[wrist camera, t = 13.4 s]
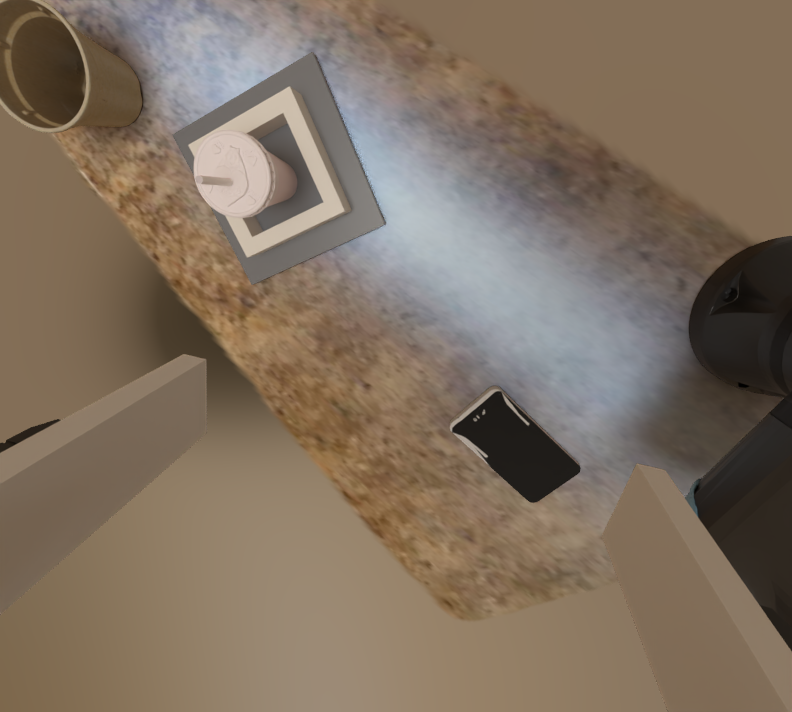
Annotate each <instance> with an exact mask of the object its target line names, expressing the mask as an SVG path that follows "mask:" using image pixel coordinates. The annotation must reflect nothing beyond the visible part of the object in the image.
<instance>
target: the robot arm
mask: <svg viewBox="0 0 792 712" xmlns="http://www.w3.org/2000/svg"><path fill="white" fill-rule="evenodd" d="M689 333H690V341H691V345H692V348H693V350H694V353H695V355H696V356H697V358H698V360H699V361H700V362H701V364H702V365H703V366H704V367H705V368H706V369H707V370H708V371H710V372H711V373H712V374H714V375H716V376H717V377H719V378H720V379H722V380H723V381H725V382H727V383H728V384H730V385H732V386H735V387H737V388H740V389H742V390H746V391H750V392H754V393H760V394H766V395H771V396H777V397H783V398H784V399H783V400H782V401H781V402H780V403H779V404H778V405H777V406H776V407H775V408H774V409H773V410H772V411H771V412H770V413H769V414H768V415H767V416H766V417H765V418H763V419H762V420H761V421H760V422H759V423H758V424H757V425H756V426H755V427H754V428H753V429H752V430H751V431H750V432H749V433H748V434H747V435H746V436H745V437H744V438H743V439H742V440H741V441H740V442H739V443H738V444H737V445H736V446H735V447H734V448H733V449H732V450H731V451H730V452H729V453H727V454H726V455H725V456H724V457H723V458H722V459H721V460H720V461H719V462H718V463H717V464H716V465H715V466H714V467H713V468H712V469H711V470H710V471H709V472H708V473H707V474H706V475H705V476H704V477H703V478H701V479H698V480H696V481H695V482H694V483H693V485H692V487H691V489H690V492H689V494H688V495H687V496H686V497H685V498H684V497H683V495H682V494H681V492H680V491H679V489H678V488H677V487H676V485H675V484H674V482H673V481H672V479H671V478H670V477H669V475H668V474H667V472H666V471H665V470H662V469H658V468H654V467H650V466H646V465H642V464H636V466H635V468H634V470H633V472H632V475H631V477H630V479H629V481H628V483H627V485H626V487H625V489H624V491H623V493H622V495H621V497H620V499H619V501H618V503H617V506H616V508H615V510H614V512H613V514H612V516H611V518H610V520H609V522H608V524H607V526H606V528H605V530H604V532H603V535H602V538H603V541H604V543H605V546H606V549H607V551H608V554H609V557H610V559H611V562H612V565H613V567H614V570H615V573H616V575H617V578H618V581H619V583H620V586H621V588H622V591H623V594H624V597H625V599H626V602H627V604H628V607H629V610H630V613H631V615H632V618H633V621H634V623H635V626H636V629H637V631H638V634H639V636H640V639H641V642H642V645H643V647H644V650H645V652H646V655H647V658H648V660H649V663H650V665H651V668H652V671H653V674H654V677H655V679H656V682H657V685H658V687H659V690H660V692H661V695H662V698H663V700H664V703H665V705H666V708H667V711H668V712H792V236H787V237H781V238H776V239H772V240H768V241H765V242H762V243H759V244H757V245H754V246H752V247H750V248H748V249H746V250H744V251H742V252H741V253H739V254H737V255H736V256H734V257H733V258H731V259H730V260H729V261H727V262H726V263H725V264H724V265H723V266H721V267H720V268H719V269H718V270H717V271H716V272H715V273H714V274H713V275H712V277H711V278H710V279H709V280H708V281H707V283H706V284H705V286H704V287H703V288H702V290H701V292H700V293H699V295H698V297H697V299H696V302H695V304H694V307H693V310H692V313H691V318H690V326H689ZM206 391H207V390H206V359H202V358H198V357H194V356H190V355H185V354H183V355H181V356H180V357H178V358H176V359H174V360H172V361H170V362H168V363H166V364H165V365H163V366H161V367H159V368H157V369H155V370H154V371H152V372H150V373H148V374H146V375H144V376H142V377H141V378H139V379H137V380H135V381H133V382H131V383H129V384H128V385H126V386H124V387H122V388H120V389H118V390H116V391H115V392H113V393H111V394H109V395H107V396H105V397H103V398H101V399H100V400H98V401H96V402H94V403H92V404H90V405H89V406H87V407H85V408H83V409H81V410H79V411H77V412H75V413H74V414H72V415H70V416H68V417H66V418H64V419H62V420H59V419H57V420H54V421H51V422H47V423H44V424H41V425H38V426H35V427H31V428H29V429H27V430H25V431H23V432H21V433H19V434H17V435H15V436H13V437H12V438H10V439H8V440H6V443H0V615H1V614H2V613H3V612H4V611H5V610H6V609H8V608H9V607H10V606H11V605H12V604H13V603H14V602H16V601H17V600H18V599H19V598H20V597H21V596H22V595H24V594H25V593H26V592H27V591H28V590H29V589H30V588H31V587H33V586H34V585H35V584H36V583H37V582H38V581H39V580H41V579H42V578H43V577H44V576H45V575H46V574H47V573H48V572H50V571H51V570H52V569H53V568H54V567H55V566H56V565H58V564H59V563H60V562H61V561H62V560H63V559H64V558H66V557H67V556H68V555H69V554H70V553H71V552H72V551H73V550H75V549H76V548H77V547H78V546H79V545H80V544H81V543H83V542H84V541H85V540H86V539H87V538H88V537H89V536H91V534H93V533H94V532H95V531H96V530H97V529H99V528H100V527H101V526H102V525H103V524H104V523H105V522H106V521H108V520H109V519H110V518H111V517H112V516H113V515H114V514H115V513H117V512H118V511H119V510H120V509H121V508H122V507H123V506H125V505H126V504H127V503H128V502H129V501H130V500H131V499H133V498H134V497H135V496H136V495H137V494H138V493H139V492H141V491H142V490H143V489H144V488H145V487H146V486H147V485H149V484H150V483H151V482H152V481H153V480H154V479H155V478H156V477H158V476H159V475H160V474H161V473H162V472H163V471H164V470H166V469H167V468H168V467H169V466H170V465H171V464H172V463H174V462H175V461H176V460H177V459H178V458H179V457H180V456H181V455H182V454H184V453H185V452H186V451H187V450H188V449H189V448H191V447H192V446H193V445H194V444H195V443H196V442H197V441H199V440H200V439H201V438H202V437H203V436H204V435H205V434H206V433H207V395H206V394H207V392H206Z"/></svg>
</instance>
